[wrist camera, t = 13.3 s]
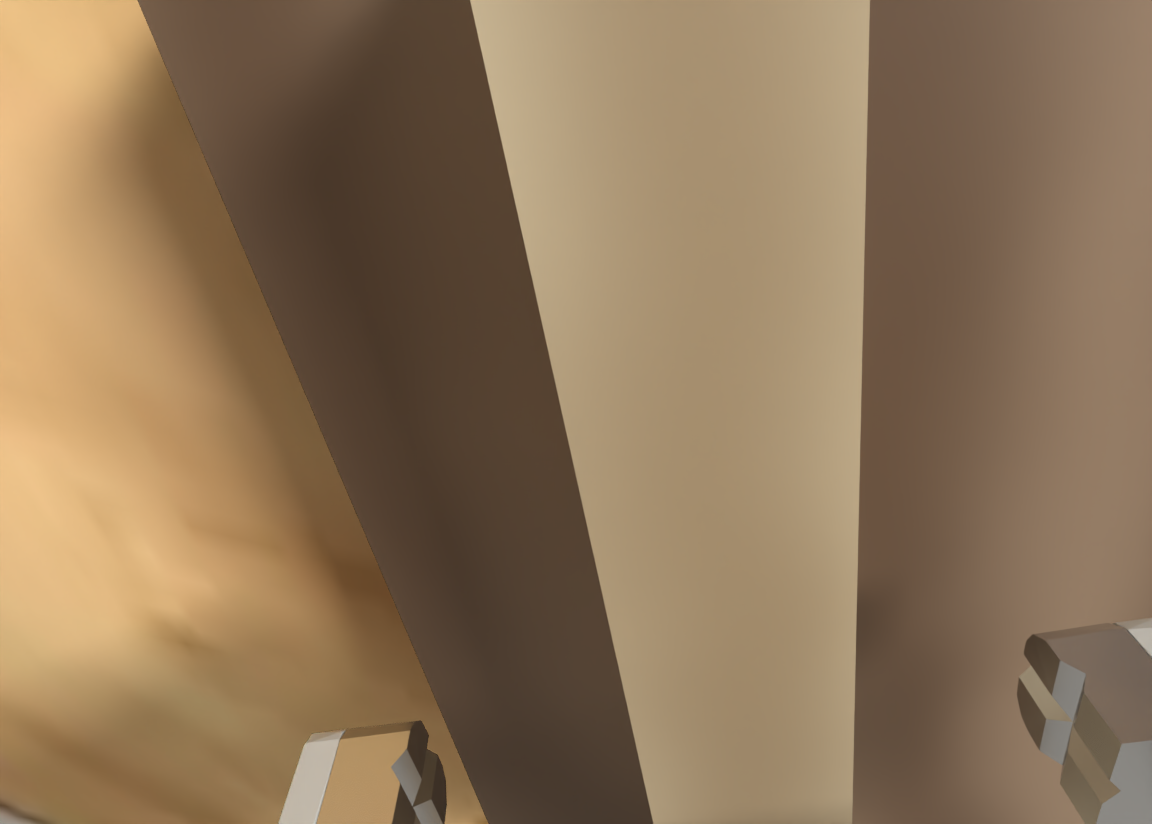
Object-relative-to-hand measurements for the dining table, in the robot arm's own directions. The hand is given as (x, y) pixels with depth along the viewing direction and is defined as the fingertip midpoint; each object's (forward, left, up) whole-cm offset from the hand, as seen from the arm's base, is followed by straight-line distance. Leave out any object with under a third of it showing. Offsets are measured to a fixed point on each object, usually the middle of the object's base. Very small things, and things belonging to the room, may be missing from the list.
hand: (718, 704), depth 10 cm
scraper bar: (0, 0, -3) cm, 3 cm away
